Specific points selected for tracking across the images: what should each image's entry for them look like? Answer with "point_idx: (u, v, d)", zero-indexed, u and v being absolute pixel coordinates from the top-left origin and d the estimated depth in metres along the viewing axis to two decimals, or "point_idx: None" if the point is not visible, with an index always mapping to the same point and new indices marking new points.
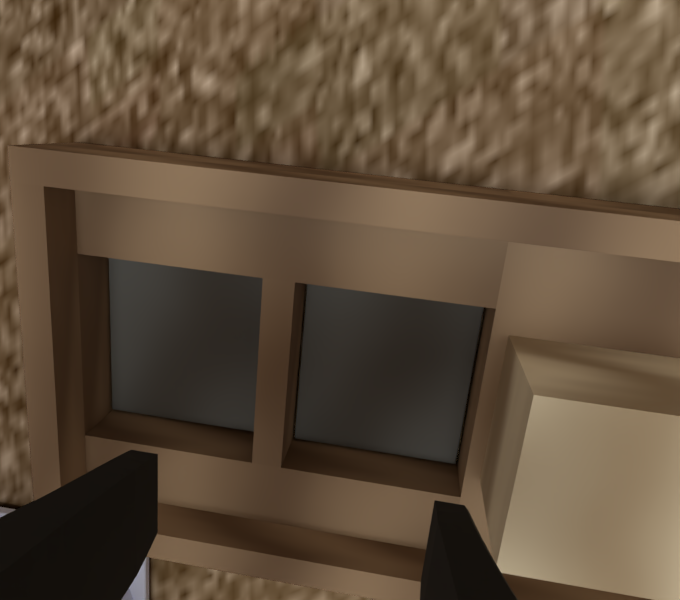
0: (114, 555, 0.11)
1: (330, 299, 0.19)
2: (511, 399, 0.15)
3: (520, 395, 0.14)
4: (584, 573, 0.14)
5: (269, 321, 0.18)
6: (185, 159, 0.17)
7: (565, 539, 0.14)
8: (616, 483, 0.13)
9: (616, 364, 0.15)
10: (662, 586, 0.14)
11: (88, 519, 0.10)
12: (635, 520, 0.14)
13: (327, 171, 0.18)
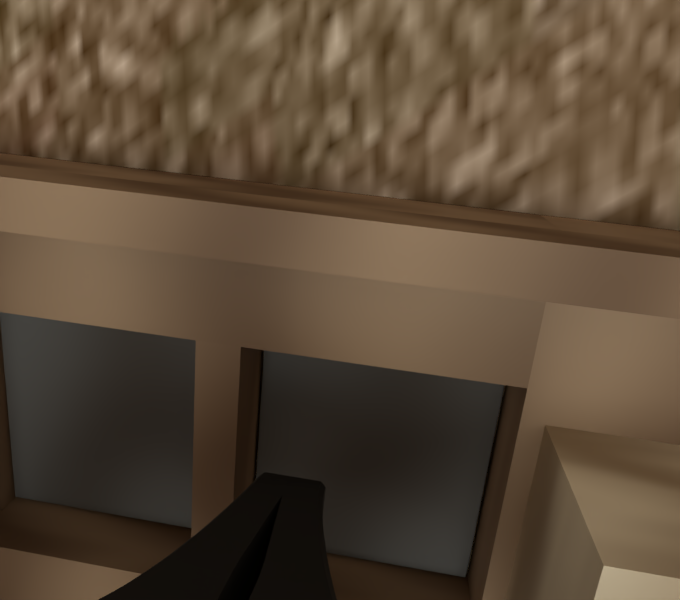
0: None
1: (296, 362, 0.14)
2: (554, 534, 0.10)
3: (573, 542, 0.09)
4: None
5: (207, 399, 0.13)
6: (81, 173, 0.12)
7: None
8: None
9: None
10: None
11: (254, 549, 0.09)
12: None
13: (288, 189, 0.13)
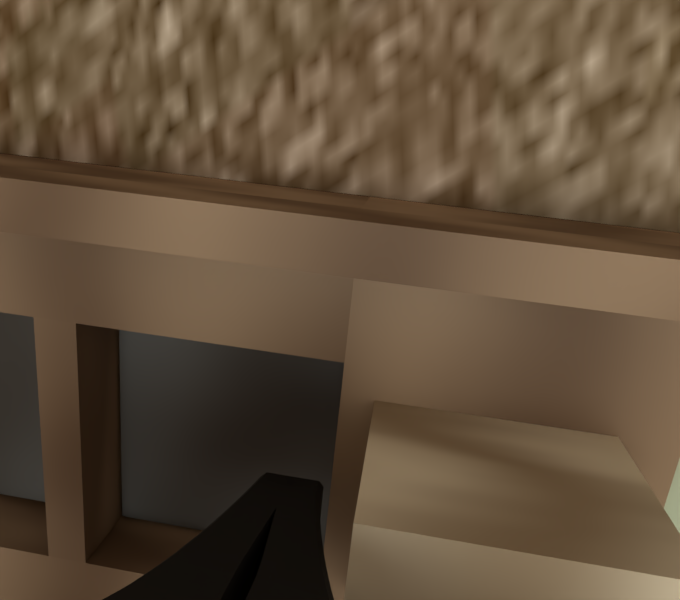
0: None
1: (150, 341, 0.14)
2: None
3: None
4: None
5: (49, 374, 0.13)
6: None
7: None
8: None
9: (512, 451, 0.11)
10: None
11: (257, 550, 0.09)
12: None
13: (126, 171, 0.13)
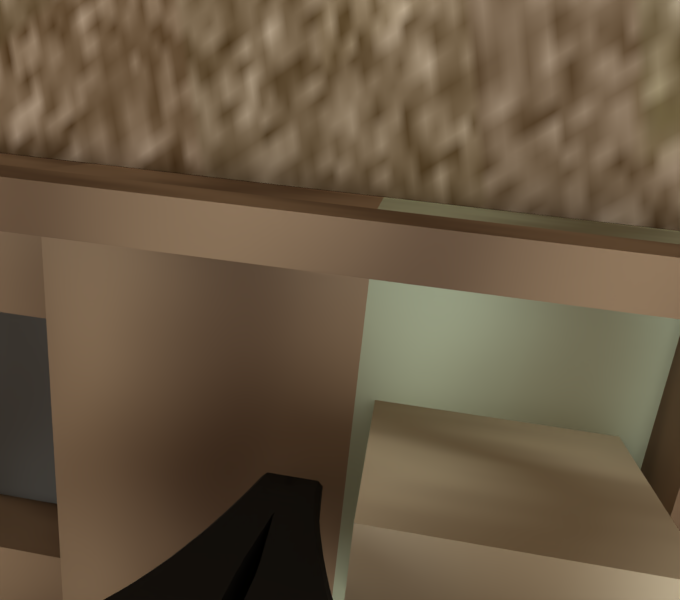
0: None
1: None
2: None
3: None
4: None
5: None
6: None
7: None
8: None
9: (512, 450, 0.11)
10: None
11: (258, 550, 0.09)
12: None
13: None
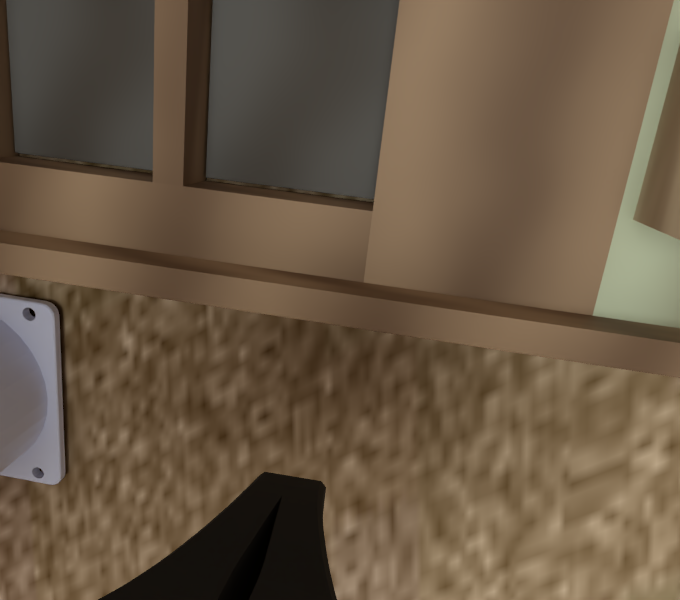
0: None
1: (238, 3, 0.18)
2: None
3: None
4: None
5: (164, 3, 0.17)
6: None
7: None
8: None
9: None
10: None
11: (254, 549, 0.09)
12: None
13: None
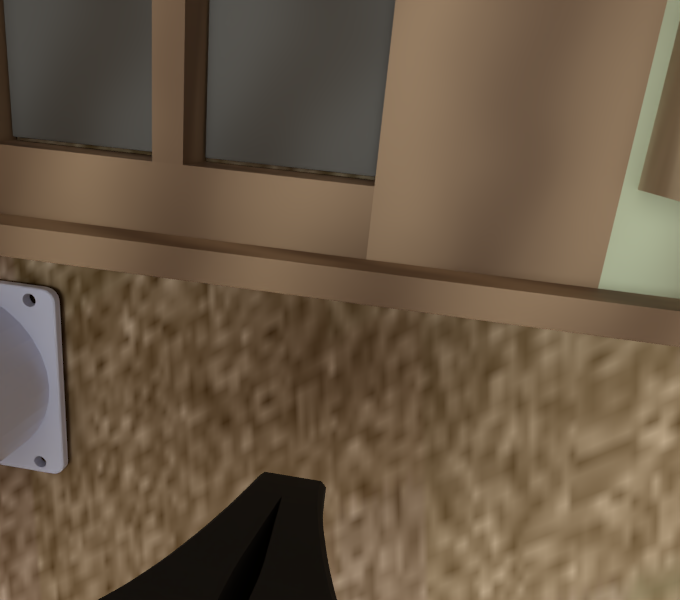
0: None
1: None
2: None
3: None
4: None
5: None
6: None
7: None
8: None
9: None
10: None
11: (254, 549, 0.09)
12: None
13: None
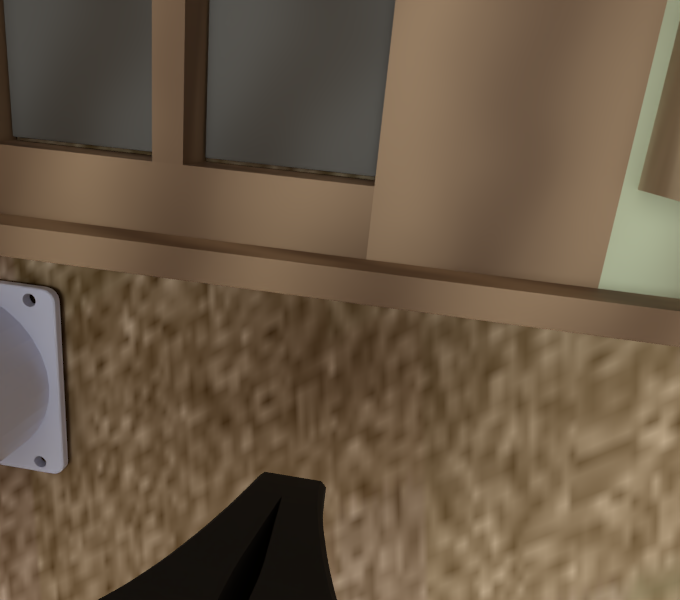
0: None
1: None
2: None
3: None
4: None
5: None
6: None
7: None
8: None
9: None
10: None
11: (254, 549, 0.09)
12: None
13: None
